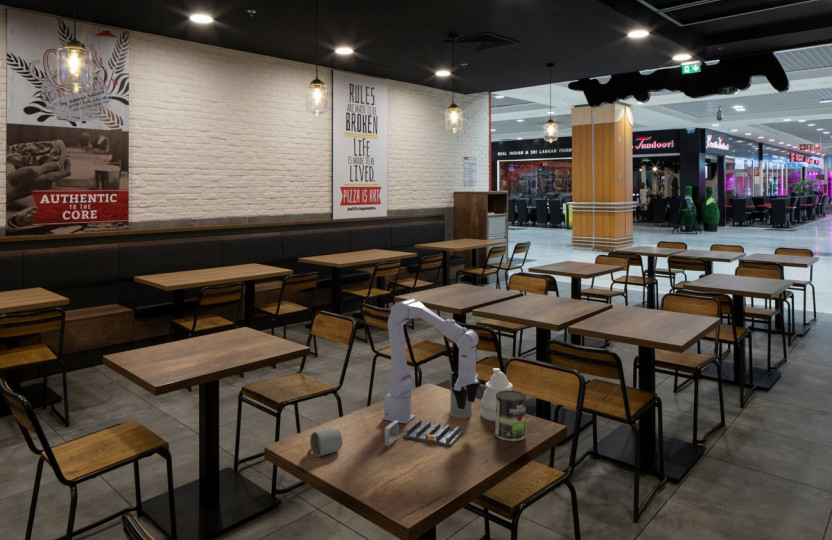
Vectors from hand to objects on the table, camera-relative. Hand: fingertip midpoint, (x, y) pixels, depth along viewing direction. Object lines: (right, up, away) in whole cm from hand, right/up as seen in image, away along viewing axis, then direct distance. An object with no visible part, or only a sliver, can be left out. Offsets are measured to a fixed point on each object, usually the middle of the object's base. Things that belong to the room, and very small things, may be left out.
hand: (466, 405), depth 196 cm
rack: (-11, -10, -1) cm, 15 cm away
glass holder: (-1, -8, +21) cm, 22 cm away
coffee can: (+15, -10, 0) cm, 18 cm away
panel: (-25, -11, -6) cm, 28 cm away
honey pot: (+13, -8, +18) cm, 24 cm away
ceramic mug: (-46, -12, -14) cm, 50 cm away
